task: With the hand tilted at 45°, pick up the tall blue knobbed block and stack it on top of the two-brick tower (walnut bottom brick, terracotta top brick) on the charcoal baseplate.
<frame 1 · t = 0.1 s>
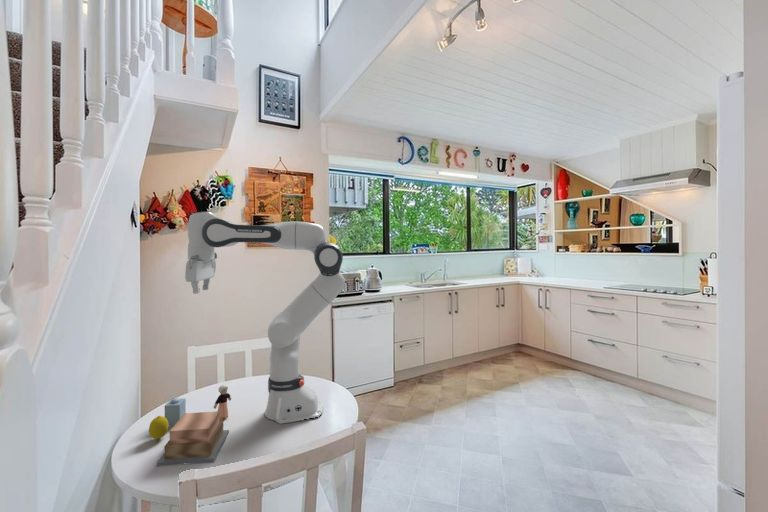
hand: (201, 291, 128), 48 cm above the table, tool pointing down, fingers open, 8 cm apart
baseplate: (195, 448, 110), on the table
blue knobbed block: (175, 423, 124), on the table
grandmother figurine: (223, 418, 129), on the table
lemon: (158, 439, 114), on the table
brick tower: (195, 432, 110), on the baseplate, point 5 cm above the table
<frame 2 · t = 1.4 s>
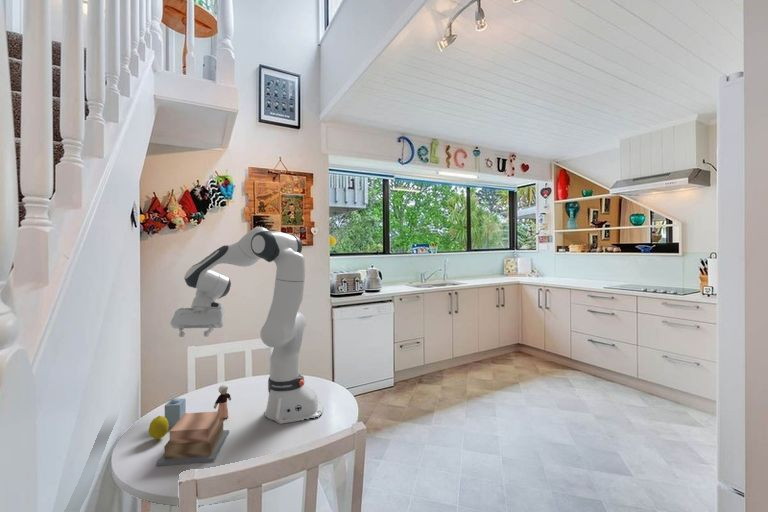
hand: (193, 336, 141), 28 cm above the table, tool tilted 45°, fingers open, 8 cm apart
nothing on the table moved.
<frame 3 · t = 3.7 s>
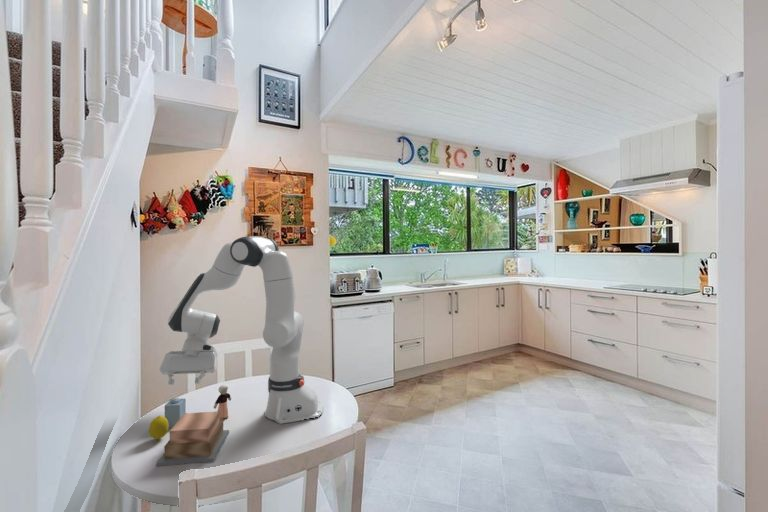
hand: (183, 383, 132), 12 cm above the table, tool tilted 45°, fingers open, 8 cm apart
nothing on the table moved.
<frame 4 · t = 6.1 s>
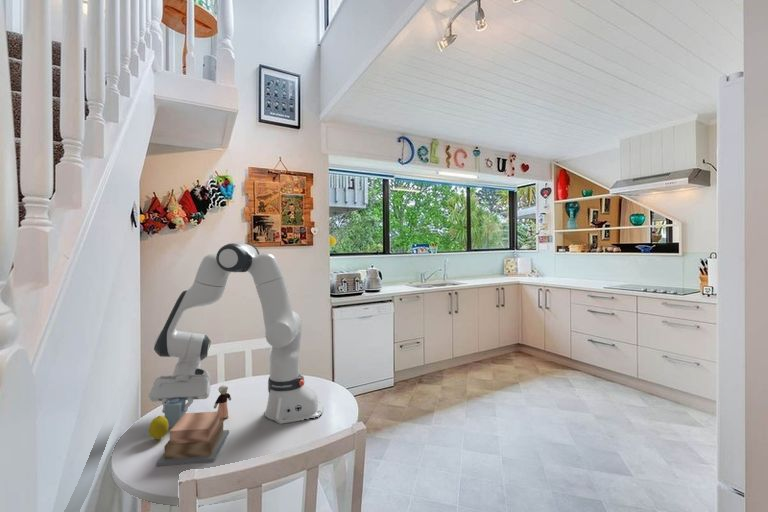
hand: (174, 411, 124), 5 cm above the table, tool tilted 45°, fingers closed on blue knobbed block, 5 cm apart
blue knobbed block: (175, 423, 124), on the table, touching gripper
everything else where it was.
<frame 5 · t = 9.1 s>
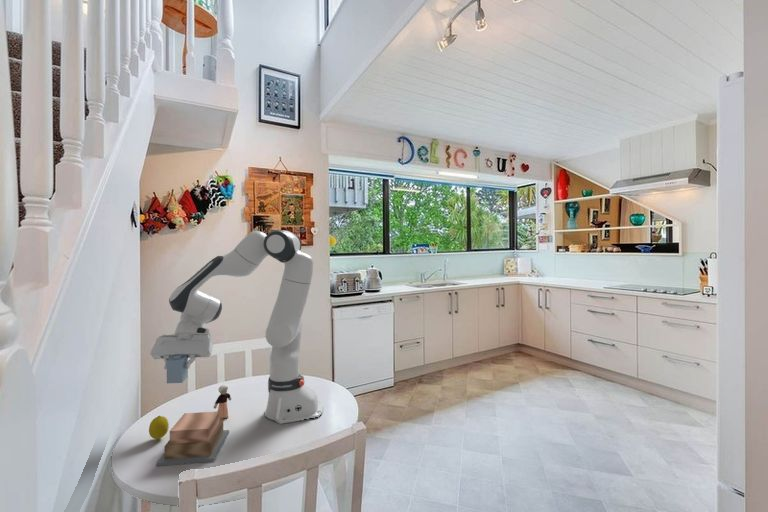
hand: (176, 368, 122), 21 cm above the table, tool tilted 45°, fingers closed on blue knobbed block, 5 cm apart
blue knobbed block: (177, 380, 123), point 16 cm above the table, touching gripper
everything else where it was.
when the fingers open (15 cm above the table, at t = 12.2 s): blue knobbed block drops 1 cm, resting on brick tower.
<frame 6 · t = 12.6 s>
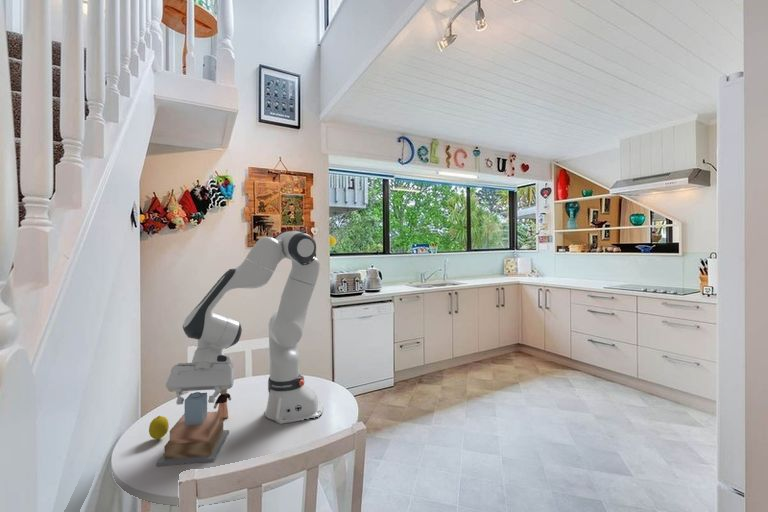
hand: (195, 403, 109), 15 cm above the table, tool tilted 45°, fingers open, 8 cm apart
blue knobbed block: (196, 420, 110), point 9 cm above the table, touching brick tower
everything else where it was.
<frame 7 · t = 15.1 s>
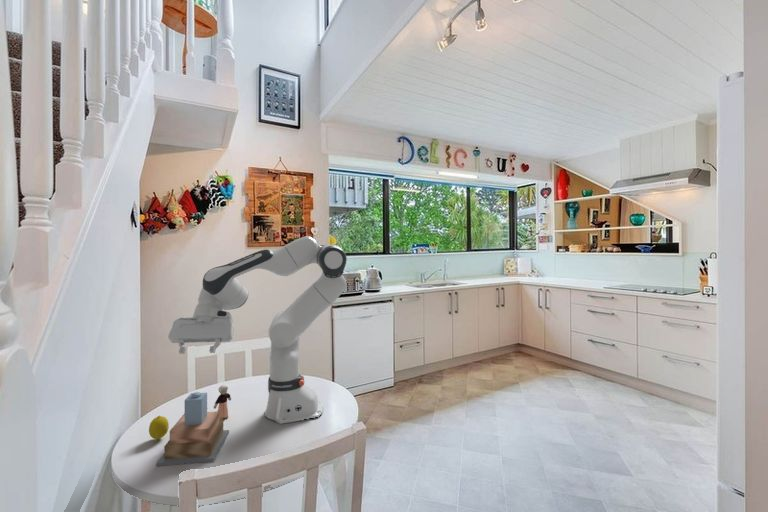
hand: (197, 352, 115), 29 cm above the table, tool tilted 45°, fingers open, 8 cm apart
nothing on the table moved.
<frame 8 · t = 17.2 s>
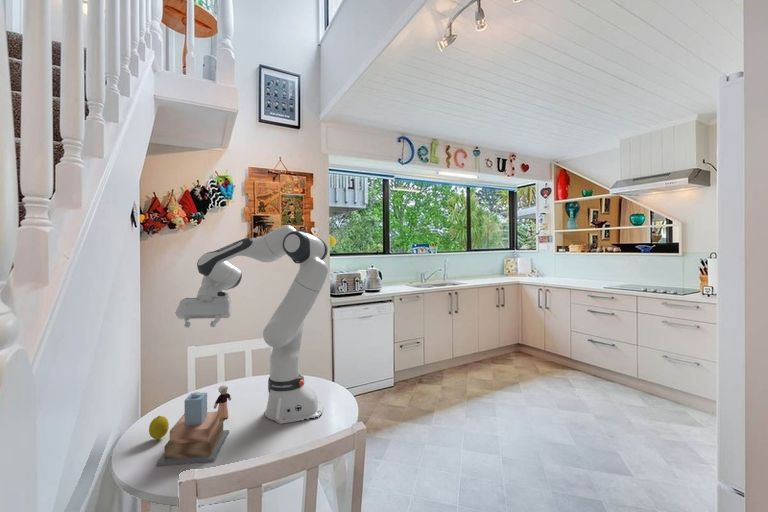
hand: (199, 326, 133), 33 cm above the table, tool tilted 45°, fingers open, 8 cm apart
nothing on the table moved.
at the end: blue knobbed block 0.1 cm off-centre on the brick tower, point 9.0 cm above the brick tower's base; blue knobbed block tilted 0°; the gripper is holding nothing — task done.
